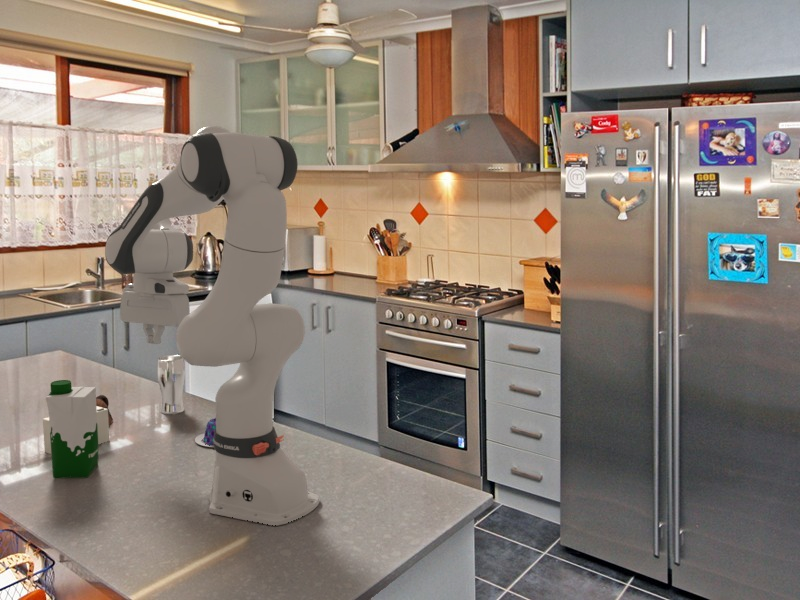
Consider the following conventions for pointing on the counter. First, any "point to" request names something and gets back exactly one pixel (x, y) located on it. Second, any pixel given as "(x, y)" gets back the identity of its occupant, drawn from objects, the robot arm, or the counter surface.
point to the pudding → (207, 434)
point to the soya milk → (72, 429)
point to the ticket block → (101, 425)
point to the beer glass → (171, 383)
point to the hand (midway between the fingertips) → (153, 343)
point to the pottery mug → (104, 405)
